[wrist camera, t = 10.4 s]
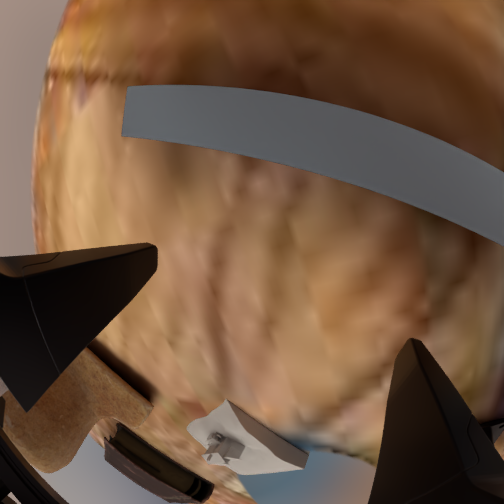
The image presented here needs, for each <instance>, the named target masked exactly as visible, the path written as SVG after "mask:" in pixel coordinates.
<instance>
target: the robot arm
mask: <svg viewBox="0 0 504 504" xmlns="http://www.w3.org/2000/svg"><path fill="white" fill-rule="evenodd" d="M157 266H158V249H157V247H156V246H155V245H153V244H150V243H137V244H127V245H118V246H108V247H99V248H90V249H81V250H73V251H64V252H55V253H46V254H36V255H24V256H9V257H0V504H17V503H16V502H15V501H14V500H12V499H11V498H10V497H8V496H7V495H8V494H9V493H10V492H12V493H13V494H14V496H15V497H16V498H17V499H18V500H19V502H21V504H69V503H67V502H66V501H65V500H64V499H63V498H62V497H61V496H60V495H59V494H58V493H57V492H56V491H55V490H54V489H53V488H52V487H51V486H50V485H49V484H48V483H47V482H46V481H45V480H44V479H43V478H42V477H41V476H40V475H39V474H38V473H37V472H36V470H35V469H34V468H33V467H32V466H31V465H30V464H29V462H28V461H27V460H26V459H25V458H24V457H23V455H22V454H21V453H20V452H19V450H18V449H17V448H16V447H15V445H14V444H13V443H12V441H11V440H10V439H9V437H8V436H7V435H6V433H5V432H4V430H3V429H2V428H3V423H4V412H5V403H6V401H5V399H4V398H3V396H2V395H3V394H4V393H6V392H7V391H8V390H9V391H10V392H11V394H12V395H13V396H14V398H15V399H16V400H17V402H18V403H19V404H20V406H21V407H22V408H23V410H24V411H25V412H26V413H27V412H29V411H30V410H31V408H32V407H33V406H34V405H35V404H36V402H37V401H38V400H39V399H40V398H41V397H42V396H43V394H44V393H45V392H46V391H47V390H48V389H49V387H50V386H51V385H52V384H53V383H54V382H55V381H56V380H57V378H58V377H59V376H60V375H61V374H62V373H63V372H64V370H65V369H66V368H67V367H68V366H69V365H70V364H71V363H72V362H73V361H74V360H75V358H76V357H77V356H78V355H79V354H80V353H81V352H82V351H83V350H84V349H85V348H86V347H87V346H88V345H89V344H90V343H91V341H92V340H93V339H94V338H95V337H96V336H97V335H98V334H99V333H100V332H101V331H102V330H103V329H104V328H105V327H106V326H107V325H108V324H109V323H110V322H111V321H112V320H113V319H114V318H115V317H116V316H117V315H118V314H119V313H120V312H121V311H122V310H123V309H124V308H125V307H126V306H127V305H128V304H129V303H130V302H131V301H132V300H133V298H134V297H135V296H136V295H137V294H138V292H139V291H140V290H141V289H142V288H143V286H144V285H145V284H146V283H147V282H148V280H149V279H150V278H151V277H152V276H153V274H154V273H155V272H156V270H157ZM503 430H504V419H500V420H497V421H493V422H489V423H485V424H481V425H479V423H478V422H477V420H476V418H475V417H474V415H473V414H472V412H471V411H470V409H469V408H468V406H467V404H466V403H465V401H464V400H463V398H462V397H461V395H460V394H459V393H458V391H457V390H456V388H455V387H454V385H453V384H452V382H451V381H450V379H449V378H448V377H447V375H446V374H445V372H444V371H443V370H442V368H441V367H440V366H439V364H438V363H437V361H436V360H435V359H434V357H433V356H432V355H431V353H430V352H429V351H428V349H427V348H426V347H425V345H424V344H423V343H422V341H420V340H417V339H414V338H409V339H408V340H407V341H406V343H405V345H404V346H403V348H402V349H401V351H400V352H399V354H398V355H397V357H396V360H395V363H394V369H393V375H392V380H391V385H390V390H389V395H388V400H387V407H386V415H385V422H384V429H383V436H382V442H381V448H380V454H379V459H378V464H377V469H376V473H375V478H374V482H373V486H372V490H371V494H370V498H369V501H368V504H504V460H503V459H502V457H501V456H500V454H499V453H498V452H497V450H496V449H495V447H494V443H495V441H496V440H497V439H498V437H499V436H500V434H501V433H502V431H503Z"/></svg>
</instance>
